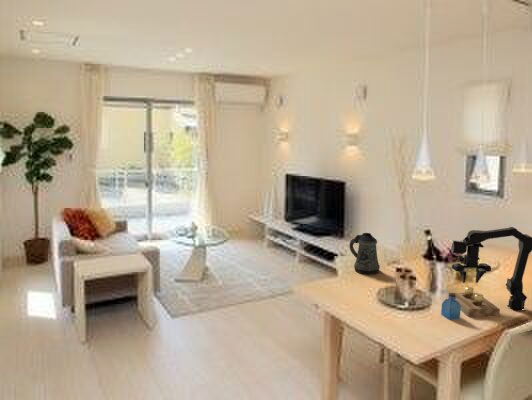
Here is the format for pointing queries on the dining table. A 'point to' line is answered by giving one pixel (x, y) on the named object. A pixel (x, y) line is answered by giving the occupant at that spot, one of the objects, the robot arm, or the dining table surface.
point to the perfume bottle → (451, 307)
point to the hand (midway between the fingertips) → (470, 282)
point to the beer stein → (365, 254)
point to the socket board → (476, 306)
